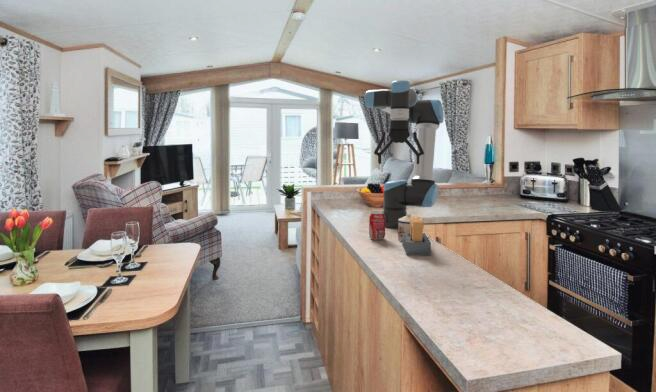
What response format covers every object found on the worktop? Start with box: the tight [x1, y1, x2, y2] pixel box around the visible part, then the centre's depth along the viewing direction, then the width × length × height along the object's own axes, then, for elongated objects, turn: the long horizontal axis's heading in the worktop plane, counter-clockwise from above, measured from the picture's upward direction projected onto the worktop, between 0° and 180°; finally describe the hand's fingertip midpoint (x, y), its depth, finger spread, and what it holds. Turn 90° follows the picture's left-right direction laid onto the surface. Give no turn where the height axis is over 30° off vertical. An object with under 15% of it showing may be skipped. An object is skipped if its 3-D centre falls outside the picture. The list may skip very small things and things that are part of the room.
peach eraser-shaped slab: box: [410, 216, 425, 241], centre depth 177 cm, size 4×12×12 cm, turn 176°
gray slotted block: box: [401, 233, 432, 257], centre depth 177 cm, size 9×17×5 cm, turn 175°
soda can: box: [368, 211, 386, 241], centre depth 196 cm, size 7×7×12 cm
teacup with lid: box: [397, 213, 413, 242], centre depth 193 cm, size 12×9×12 cm
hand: (398, 172), depth 182 cm, fingers open, 13 cm apart
